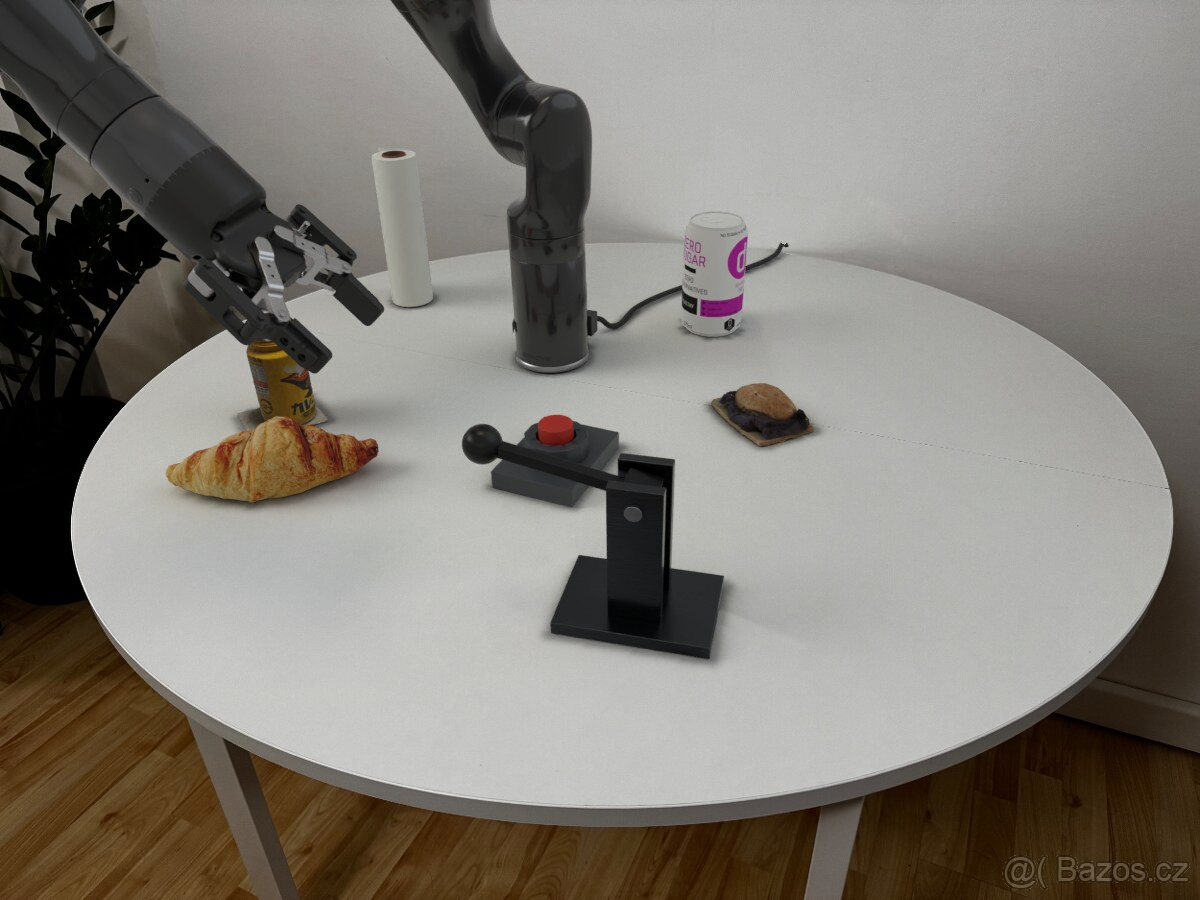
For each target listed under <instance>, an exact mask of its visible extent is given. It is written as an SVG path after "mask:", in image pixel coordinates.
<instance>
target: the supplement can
mask: <svg viewBox="0 0 1200 900" xmlns="http://www.w3.org/2000/svg"><path fill="white" fill-rule="evenodd" d="M683 233H684V234H683V258H682V259H683V261H682V284H681V285H682V290H681V313H680V314H681V315H680V322H681V323H682V326H683V327H685V328H686V330H687V331H689V332H690V333H692V334H695V335H697V336H701V337H709V338H714V337H715V338H717V337H725V336H728V335H731V334H733V333H734V332H735V331H736V330H737V329H738V328H740V327H741V325H742V317H743V316H742V315H743V305H744V304H743V302H744V290H745V279H746V271H745V266H747V265H746V263H747V252H748V237H749V229H748V228H747V225H746V223H745V219H744V218H743V216H742V215H739V214H737V213H735V212H729V211H720V210H713V211H712V210H710V211H702V212H698V213H694V214H693V215H691V216H690V218H689V222H688V223H687V224H686V226H685V229H684V232H683Z"/></svg>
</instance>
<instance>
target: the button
mask: <svg viewBox="0 0 1200 900" xmlns="http://www.w3.org/2000/svg"><path fill="white" fill-rule="evenodd" d="M543 417H544V418H543ZM543 417H542V418H540V419H539V420H538V422H537V423H538V433H539V440H540V442H541V443H543V444H547V445H552V446H556V445H564V444H567V443H569V442H571V441H572V440H573V438H574V431H573V421H574V420H573V419H572V418H571V417H569V416H567V415H563V414H550V415H546V416H543Z"/></svg>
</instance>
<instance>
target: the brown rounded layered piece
mask: <svg viewBox="0 0 1200 900" xmlns="http://www.w3.org/2000/svg"><path fill="white" fill-rule="evenodd" d="M710 405H711V407H712V408H713V409H714V410H715V411H716V412H717V413H718V415H720V417H722V418H723V420H725V421H726V422H727V423H728V424H729V425H730V426H732V428H734V429H735V430H737V431H738V432H740V435H741V436H745V437H746V438H747V439H749V440H750V441H751V442H752V443H753V444H755V445H757V446H758V447H764V446H765V447H766V446H767V447H770V445H774V444H777V443H784V442H786V440H789V439H793V440H794V439H797V438H799V437H801V436H804V435H807V434H811V433H814V431H815V429H814V426H813V425H812V424H811V423H810V419H809V418H808V416H807V414H806V413H805V411H804V410H803V409H800V408H797V407H796V405H795V403H794V402H793V400H792V399H790V397H789V396H788V395H787V394H786V393H785V392H784V391H783V390H782V389H780V388H779V387H777V386H774V385H771V384H769V383H766V382H758V383H750V384H747V385H742V386H740V387H739V388H737V389H736V390H730V391H727V392H726V393H724V394H723V395H722V396H721V397H717V398H713V399H712V400H711V402H710Z"/></svg>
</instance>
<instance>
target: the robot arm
mask: <svg viewBox="0 0 1200 900" xmlns="http://www.w3.org/2000/svg"><path fill="white" fill-rule="evenodd" d="M389 1H390V2H391V4H393V6H394V7H395V9H396V10H397V12H398V14H400V15H401V16H402V17H403V19H404V20H405V21H406V22H407V24H408V25H409V26H410V27H411V29H412V30H413V31H414V33H415V34H416V36H417V37H418V38H419V39H420V41H421V42H422V44H423V45H424V46H425V48H426V49H427V50H428V51H429V53H430V54H431V55H432V56H433V58H434V59H435V61H436V62H437V63H438V64H439V65H440V67H441V68H442V69H443V71H445V73H446V74H447V75H448V77H449V79H451V81H452V83H453V84H454V86H455V87H456V88H457V90H458V91H459V93H460V95H461V97H462V98H463V100H464V101H465V104H466V105H467V106H468V108H469V110H470V112H471V113H472V115H473V117H474V118H475V120H476V122H477V123H478V125H479V128H481V131H482V132H483V134H484V135H485V137H486V139H487V141H488V142H489V143H490V145H491V146H492V148H493V149H494V150H495V152H496V153H497V154H498V155H500V156H501V157H502V158H503V159H505V160H506V161H507V162H509V163H511V164H513V165H516V166H519V167H522V168H525V195H524V196H521V197H518V198H515V199H514V200H512V201H511V202H510V203H509V204H508V206H507V209H506V225H507V227H506V228H507V239H508V252H509V264H510V277H511V279H510V280H511V294H512V295H511V296H512V309H513V310H512V311H513V319H512V323H511V326H512V328H511V329H512V333H514V338H515V340H514V341H515V360H516V363H517V364H518V365H519V366H520V367H522V368H524V369H526V370H529V371H532V372H536V373H546V374H549V373H550V374H552V373H554V374H555V373H563V372H568V371H571V370H575V369H577V368H579V367H581V366H583V365H584V364H586V363H587V361H588V360H589V355H590V354H589V351H590V350H589V337H593V336H594V335H595V334H596V333H597V332H598V329H599V327H598V322H599V323H601V325H603V326H604V327H605V328H606V329H611V330H615V329H618V328H620V327H622V326H623V325H625V324H626V323H627V322H628V321H629V319H630V318H631V317H632V316H633V314H634V313H636V311H638V310H639V309H641V308H643V307H645V306H647V305H649V304H650V303H653V302H655V301H657V300H660V299H663V298H665V297H667V296H670V295H672V294H676V293H678V292H682V284H680V285H678V286H677V285H676V286H675V287H672V288H668V289H667V290H663V291H661V292H659V293H656V294H653V295H651V296H649V297H647V298H645V299H643V300H642V301H640V302H638V303H636V304H634V305H633V306H632V307H630V309H628V310H627V312H626V313H625V314H624V315H623V317H622V318H621V319H620V320H618V321H616V322H610V321H608V320H607V319H606V318H604V317H603V316H601V315H598V310H591V309H588V289H587V285H588V284H587V265H586V264H587V261H586V259H587V258H586V227H585V226H586V225H585V223H586V221H585V220H586V219H585V217H586V212H587V210H588V207H589V204H590V200H591V193H592V169H593V166H592V165H593V127H592V121H591V116H590V112H589V109H588V107H587V104H586V103H585V101H584V100H583V99H582V97H581V96H580V95H579V94H577V93H576V92H574V91H572V90H570V89H568V88H564V87H559V86H555V85H549V84H544V83H540V82H537V81H535V80H534V79H532V78H531V77H530V76H529V75H528V74H527V73H526V72H525V70H524V69H523V68H522V67H521V65H520V64H519V63H518V62H517V60H516V59H515V58H514V56H513V55H512V53H511V52H510V51H509V49H508V47H507V46H506V44H505V43H504V41H503V40H502V38H501V36H500V34H499V32H498V30H497V26H496V23H495V19H494V15H493V10H492V4H491V0H389ZM86 2H87V0H0V73H3V74H5V75H6V76H7V77H8V78H9V79H10V80H11V81H12V82H13V83H14V84H15V85H16V86H17V88H18V89H19V90H20V91H21V92H22V93H23V95H24V97H25V98H26V100H27V101H28V102H29V104H30V106H31V107H32V109H33V110H34V111H35V113H36V114H37V116H39V118H40V119H41V120H42V121H43V122H44V123H45V124H46V126H47V127H48V128H49V129H50V130H51V131H52V132H54V134H56V136H57V137H59V138H60V139H61V140H62V141H63V142H64V143H65V144H66V145H67V146H68V147H70V149H72V150H73V151H74V152H75V153H76V155H78V156H79V157H81V158H82V159H83V160H84V161H85V162H86V163H87V164H88V165H90V167H92V168H93V170H95V171H96V172H97V173H98V175H99V176H100V177H101V178H102V179H103V181H104V182H105V183H106V184H107V185H108V186H109V187H110V188H111V189H112V191H113V192H114V193H115V194H116V195H118V197H119V198H121V200H122V201H124V202H125V203H126V204H127V205H128V206H129V207H130V208H131V209H132V210H134V212H136V213H137V214H138V215H139V216H140V217H141V218H143V220H144V221H146V222H147V223H148V224H149V225H150V226H151V227H153V229H154V230H156V231H157V232H158V234H160V235H161V236H162V237H163V238H164V239H165V240H166V241H168V242H169V243H170V244H171V245H172V246H173V247H174V248H175V249H177V250H178V251H179V252H180V253H181V254H182V255H183V256H184V257H185V258H187V260H189V261H190V262H193V263H195V266H194V267H193V268H192V270H191V271H190V273H189V274H188V275H187V277H186V278H185V280H184V281H183V283H182V286H183V288H184V290H185V291H186V292H187V293H188V294H189V295H190V296H192V298H193V299H194V300H195V301H196V302H197V303H198V304H199V305H200V306H202V308H203V309H204V310H206V311H207V312H208V313H209V314H210V315H211V317H213V318H214V319H215V320H216V321H217V322H218V323H219V324H220V325H221V326H222V327H223V328H224V329H225V330H226V331H227V332H228V333H229V334H230V335H231V336H233V338H234V339H235V340H236V341H238V343H240V344H241V345H244V346H248V345H251V344H252V343H253V342H254V341H256V340H261V339H263V340H265V341H272V342H274V343H275V344H276V345H277V346H279V347H280V348H281V349H282V350H283V351H284V352H285V353H286V354H287V355H288V356H290V357H291V358H292V359H293V360H295V362H296V363H297V364H298V365H299V366H301V367H302V368H304V369H306V370H308V371H309V373H311V374H317V373H319V372H320V371H321V370H322V369H324V367H325V366H326V365H327V364H328V363H329V362H330V361H331V360H332V359H333V352H332V350H331V349H330V348H329V347H328V346H326V345H325V344H324V343H323V342H322V341H321V340H320V339H319V338H318V337H317V336H316V335H314V334H313V333H312V332H311V331H310V330H309V329H308V328H307V327H306V326H304V325H303V324H302V323H301V322H300V320H298V319H297V318H296V317H294V318H292V319H293V320H292V321H289V320H290V317H291V315H290V312H289V309H288V306H287V304H286V301H285V298H284V293H285V289H286V288H290V287H291V286H292V285H294V284H298V285H300V286H304V287H305V286H309V285H314V286H316V287H319V288H321V289H324V290H326V291H330V292H333V294H332V296H333V297H334V298H335V300H337V301H338V302H339V303H340V304H341V305H342V306H343V307H344V308H345V309H346V310H347V311H349V312H350V313H351V315H353V316H354V317H355V318H356V319H357V320H358V321H359V322H360V323H361V324H363V325H364V326H366V327H370V326H372V325H373V324H374V323H375V322H376V321H377V320H378V319H379V318H380V317H381V315H383V313H384V312H385V306H384V304H382V303H381V301H380V300H379V298H378V297H377V296H375V294H373V293H372V292H371V291H370V290H369V289H368V288H367V287H366V285H364V284H363V283H362V282H361V281H360V280H359V279H358V278H357V277H356V276H355V275H354V274H353V264H354V262H355V261H356V260H357V258H358V255H357V253H356V252H355V250H354V249H353V248H351V247H350V246H349V245H348V244H347V243H346V242H345V241H344V240H343V239H341V238H340V237H339V236H338V235H337V234H336V233H335V232H334V231H333V230H331V228H329V226H327V225H326V224H325V223H324V222H322V220H321V219H319V218H318V217H317V216H316V215H315V214H314V213H313V212H312V211H310V210H309V209H308V208H307V207H306V206H305V205H303V204H299V203H298V204H296V205H295V206H294V207H293V209H292V210H290V211H289V213H288V214H287V216H285V217H284V218H282V217H280V216H278V215H277V214H275V213H273V212H272V211H271V210H270V209H269V208H268V206H267V202H266V201H267V191H266V189H265V187H263V186H262V184H261V183H259V182H258V181H257V180H256V178H254V177H253V176H252V175H251V174H250V173H249V172H248V171H247V170H246V169H245V168H244V167H243V166H241V164H239V163H238V162H237V160H235V159H234V158H233V157H232V156H231V155H230V154H229V153H228V152H227V151H226V150H225V149H223V147H222V146H221V145H219V144H218V143H217V142H216V141H215V140H214V139H213V138H212V137H211V136H210V135H209V134H208V133H207V132H206V131H205V130H204V129H203V128H202V127H201V126H200V125H199V124H197V123H196V122H195V121H194V120H193V119H192V118H191V117H189V116H188V115H187V114H185V113H184V112H182V111H181V110H180V109H178V108H177V107H176V106H174V105H173V104H172V103H171V102H170V101H168V100H167V98H165V97H164V96H163V95H162V94H161V93H160V92H159V91H158V90H157V89H156V88H155V87H154V86H152V85H151V84H150V83H149V82H148V81H147V80H146V79H145V78H144V77H143V76H142V75H141V74H140V73H139V72H138V71H137V70H136V69H135V68H134V67H132V66H131V65H130V64H129V63H128V62H127V61H126V60H125V59H123V58H122V57H121V56H119V55H118V54H117V53H116V51H114V50H113V49H112V48H111V47H110V46H109V45H108V44H107V43H106V41H104V39H103V38H101V36H100V35H99V33H98V32H97V31H96V30H95V29H94V28H93V26H92V25H91V23H90V22H89V21H88V19H86V17H85V16H84V15H83V13H81V10H82V8H84V5H85V4H86ZM326 245H327V246H328V247H329V248H330V249H331V250H333V252H335V253H336V255H337V256H334V255H331V254H328V253H327V250H326V248H325V246H326ZM789 247H790V246H789V244H788V242H787V243H786V244H785V245H784V244H782V243H781V242H779V244H778V246H777V248H776V250H775V251H774V252H773V253H772V254H770V255H768V256H766V257H764V258H762V259H760V260H757V261H755V262H752V263H749V264H747V265H746V266H745V272H746V271H749V270H752V269H755V268H758V267H760V266H762V265H764V264H766V263H769V262H770V261H772V260H774V259H776V258H777V257H778V256H779V255H780V253H781V252H782V251H783V248H789ZM305 257H308V258H307V259H306V258H305ZM323 269H324V270H325V271H326V272H327V273H324V272H322V271H321V270H323ZM234 310H236V311H238V313H240V314H241V315H242V316H243V318H245V319H246V320H245V322H244V321H243V320H241V318H240V317H238V315H236V314H235V312H234Z"/></svg>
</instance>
